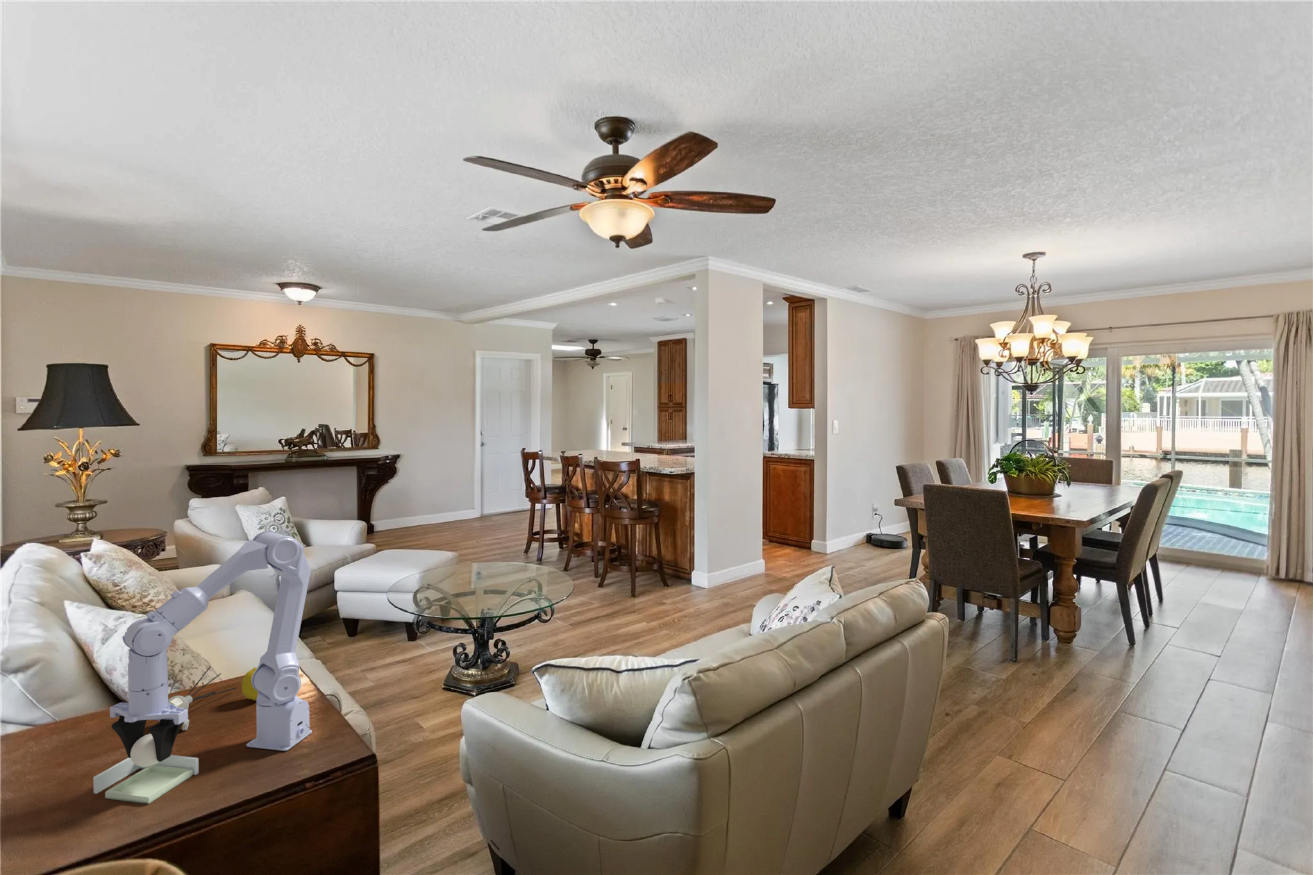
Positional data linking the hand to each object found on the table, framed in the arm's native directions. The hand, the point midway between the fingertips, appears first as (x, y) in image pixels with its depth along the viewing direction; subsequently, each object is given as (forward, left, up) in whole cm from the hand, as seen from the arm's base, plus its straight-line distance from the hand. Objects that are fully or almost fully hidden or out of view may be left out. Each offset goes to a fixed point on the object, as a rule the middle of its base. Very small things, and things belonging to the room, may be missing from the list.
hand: (149, 756), depth 118 cm
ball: (0, 0, -2) cm, 2 cm away
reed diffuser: (+15, -17, -3) cm, 23 cm away
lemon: (+7, -34, -6) cm, 35 cm away
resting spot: (0, 0, -6) cm, 6 cm away
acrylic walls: (+1, -1, -6) cm, 6 cm away
